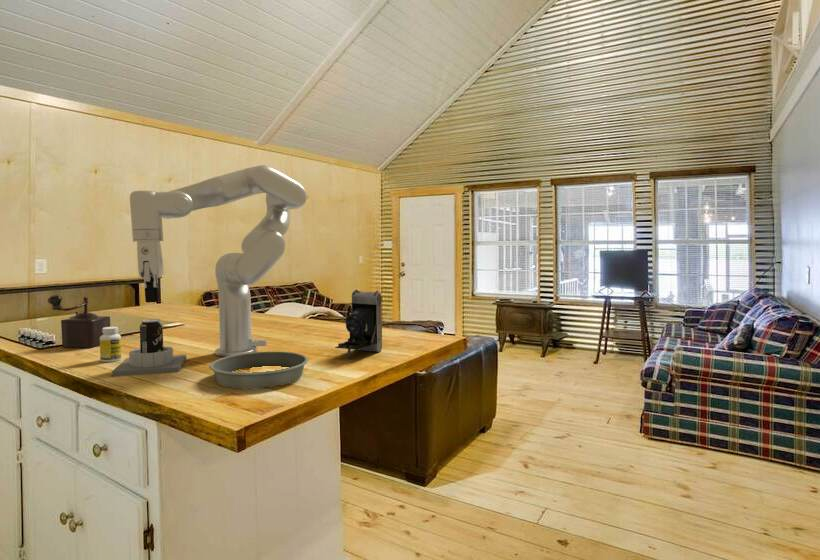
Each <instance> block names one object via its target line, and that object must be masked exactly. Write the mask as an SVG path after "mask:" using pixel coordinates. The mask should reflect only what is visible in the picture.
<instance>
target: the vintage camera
mask: <svg viewBox="0 0 820 560" xmlns="http://www.w3.org/2000/svg"><path fill="white" fill-rule="evenodd" d="M382 303H383V296H382V294H381V292H379V291H378V290H376V291H362V290H361V291H360V290H358V289H355V290H354V291H353V292H352V293H351V313H349V314H348V316H347V317H346V318H345V319H344V321H345V329H346V330H347V332H349V338H348V339H347V340H346V341H344V342H342V343H338V344H337V346H335V347H334V349H344V350H347V359H348V358H349V359H348V360H351V351H352V350H355V351H361V352H362V351H363V352H371V351H372V353H373V352H374V353H380V352H382V349H383V310H382V309H383V307H382V306H383V305H382Z"/></svg>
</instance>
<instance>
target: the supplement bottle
mask: <svg viewBox="0 0 820 560" xmlns="http://www.w3.org/2000/svg"><path fill="white" fill-rule="evenodd" d="M102 332H103V335H102V336H101V337H100V346H99V352H100V353H99V355H100V356H99V357H100V359H99V360H100V362H103V363H111V362H117V361H121V359H122V356H123V355H122V336H121V334H119V333H118V332H119V326H110V327H105V328H102Z"/></svg>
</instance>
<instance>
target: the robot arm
mask: <svg viewBox="0 0 820 560" xmlns="http://www.w3.org/2000/svg"><path fill="white" fill-rule="evenodd" d="M260 194H265V203H266V204H265V205H266V214H265V216H264V217H263V218H262V220H261V221H260V222H259V223H258V224H257V225H256V226H254V227H253V229H251V231H250V232H249V233H247V235H245V236H244V238H243V239H242V241H241V253H239V252H228V253H225V254H223V255H222V256H220V257H219V259H217V261H216V264H215V267H214V268H215V269H214V270H215V272H214V273H215V279H216V284H217V289H218V290H217V292H218V321H219V323H218V324H219V329H218V330H219V347H218V348H216V349H215V350H214V355H216V356H219V357H228V356H232V355H238V354H244V353H253V352H258V351H257V349H258V348H257V347H266V346H267V339H254V336H253V335H252V308H251V307H252V302H251V301H252V300H251V299H252V296H251V291H250V290H251V289H250V285H253V284H256V283H258V282H259V281H260V280H261V279H262V278H264V276H266V274H267V273H268V272H270V270H272V269H273V267H274V266H275V265H276V264H277V262H278V261H280V259H281V258H282V257H283V255H284V253H285V250H286V241H285V238H284V235H285V234H286V233H287V232H288V230H289V228H290V224H291V223H290V222H291V220H290V219H291V218H290V210H296V209H300V208H302V207H303V206H304V205H305V203H306V201H307V198H308V197H307V192H306V189H305V188H304V187H303V185H302V184H300V183H299V182H297V180H294V179H292V178H290V177H289V176H287V175H286V174H284V173H282V172H280V171H279V170H276V169H275V168H273V167H272V166H268V165H265V164H264V165H263V164H261V165H256V166H251V167H247V168H242V169H239V170H235V171H233V172H229V173H228V172H227V173H225V174H222V175H217V176H214V177H211V178H208V179H205V180H202V181H200V182H197V183H194V184H190V185H187V186H183V187H180V188H179V187H178V188H176V189H172V190H169V191H160V192H159V191H156V190H155V191H154V190H134V191H131V193H130V195H129V205H130V220H131V221H130V222H131V233H132V242H133V243H134V242H136V246H137V247H136V251H137V253H136V254H137V268H138V275H139V277H140V278H142V279H143V283H144V284H143V285H144V301H145V302H146V303H147V304H149V303H159V302H160V293H159V289H160V288H159V285H158V284H159V280H158V279H159V277H161V276H163V275H164V274H165V269H164V268H165V267H164V260H163V252H162V245H161V242H163V241H164V230H163V219H167V220H168V219H180V218H185V217H186V216H188V215H190V214H191V212H194V211H197V210H198V211H199V210H201V209H202V210H203V209H206V208H214V207H220V206H224V205H228V204H230V203H234V202H237V201H239V200H243V199H246V198H249V197H252V196H254V195H260Z"/></svg>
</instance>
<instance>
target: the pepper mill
mask: <svg viewBox="0 0 820 560" xmlns="http://www.w3.org/2000/svg"><path fill="white" fill-rule="evenodd" d="M62 301H63V297H62V296H61V295H60V294H59V295H58V294H54V295H51V296H49V297H48V298H47V303H48V304H49V305H50V306H51V307H52V308H51V310H53V311H58V312H59V311H62V312H69V311H74V310H76V309H80V308H82V307H83V309H84V310H83V311H82V312H78V311H75V315H72V316H70V317H69V318H67V319H61V321H60V324H61V326H60V327H61V347H62V348H65V349H80V350H81V349H83V348H84V349H85V348H86V349H93V348H94V347H95V348H98V347H100V337H101V336H102V335H103V332H102V328H105V327H111V317H110V316H107V315H102V316H101V315H97V314H96V313H92V312H89V311H88V310H89V309H88V304H89V298H88V296H84V297H83V302H82V303H80V304H77V305H74V306H72V307H66V308H65V307H63V305H62ZM95 348H94V349H95Z"/></svg>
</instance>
